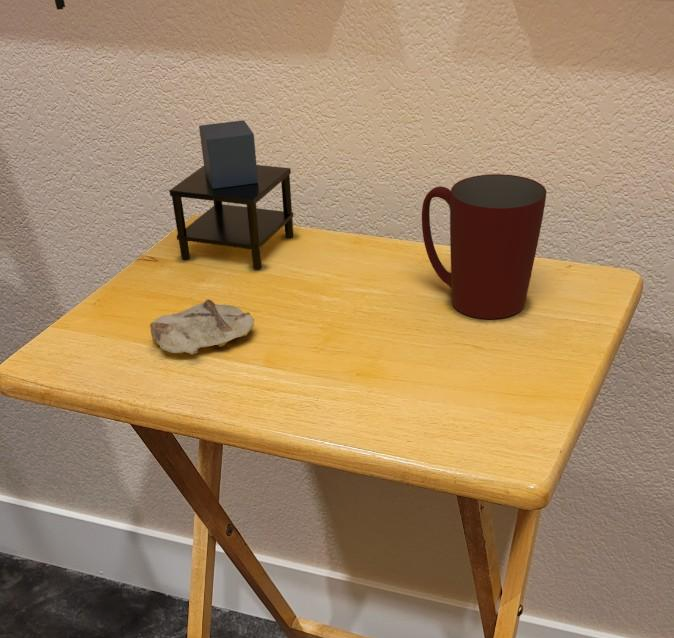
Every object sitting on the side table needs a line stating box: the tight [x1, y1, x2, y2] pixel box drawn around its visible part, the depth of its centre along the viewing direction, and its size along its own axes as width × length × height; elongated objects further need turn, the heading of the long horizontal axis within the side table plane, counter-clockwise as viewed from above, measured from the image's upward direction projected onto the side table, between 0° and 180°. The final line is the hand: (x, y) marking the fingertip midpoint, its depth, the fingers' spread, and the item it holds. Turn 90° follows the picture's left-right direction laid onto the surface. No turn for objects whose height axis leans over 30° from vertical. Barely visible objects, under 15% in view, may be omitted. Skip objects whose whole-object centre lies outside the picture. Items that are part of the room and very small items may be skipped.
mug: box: [421, 173, 547, 320], centre depth 87 cm, size 12×9×11 cm
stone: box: [149, 298, 255, 355], centre depth 85 cm, size 10×7×3 cm
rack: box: [169, 164, 295, 271], centre depth 99 cm, size 10×10×8 cm
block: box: [198, 120, 258, 189], centre depth 95 cm, size 5×5×5 cm
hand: (117, 1), depth 75 cm, fingers open, 9 cm apart
